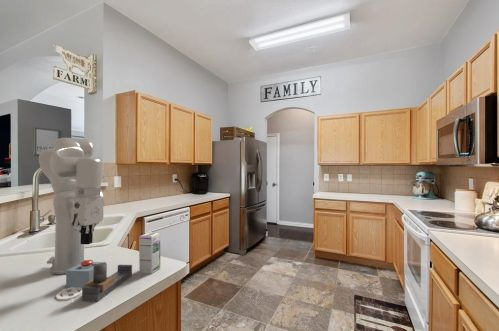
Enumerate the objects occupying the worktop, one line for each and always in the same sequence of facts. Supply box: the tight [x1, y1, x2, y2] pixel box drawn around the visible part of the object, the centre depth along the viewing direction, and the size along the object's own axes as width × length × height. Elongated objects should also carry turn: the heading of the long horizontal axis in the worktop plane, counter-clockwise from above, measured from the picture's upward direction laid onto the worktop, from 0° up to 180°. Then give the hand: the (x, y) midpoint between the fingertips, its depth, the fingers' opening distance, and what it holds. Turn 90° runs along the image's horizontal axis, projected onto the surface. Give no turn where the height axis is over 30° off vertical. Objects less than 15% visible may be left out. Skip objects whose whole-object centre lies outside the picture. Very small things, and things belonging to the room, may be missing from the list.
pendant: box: [55, 287, 82, 304], centre depth 73 cm, size 7×11×1 cm, turn 44°
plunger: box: [81, 259, 94, 269], centre depth 82 cm, size 3×3×4 cm
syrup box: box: [138, 231, 161, 275], centre depth 93 cm, size 6×6×14 cm
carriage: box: [85, 262, 114, 291], centre depth 74 cm, size 6×5×7 cm
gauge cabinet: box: [65, 261, 106, 289], centre depth 82 cm, size 8×8×6 cm
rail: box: [81, 264, 133, 303], centre depth 79 cm, size 5×18×4 cm, turn 176°
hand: (86, 243), depth 83 cm, fingers closed
